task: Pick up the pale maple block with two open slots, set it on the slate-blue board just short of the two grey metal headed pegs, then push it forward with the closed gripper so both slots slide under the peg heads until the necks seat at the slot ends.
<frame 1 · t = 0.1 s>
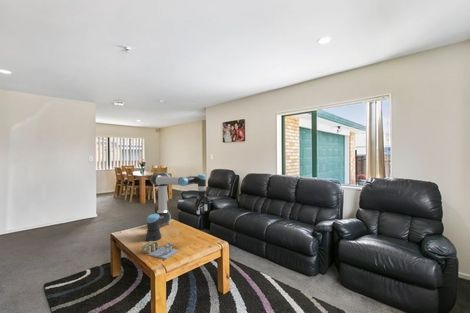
hand: (202, 212, 220), 28 cm above the table, fingers open, 13 cm apart
boss board: (164, 253, 194), on the table
book: (162, 226, 269), on the table
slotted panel: (150, 250, 200), on the table
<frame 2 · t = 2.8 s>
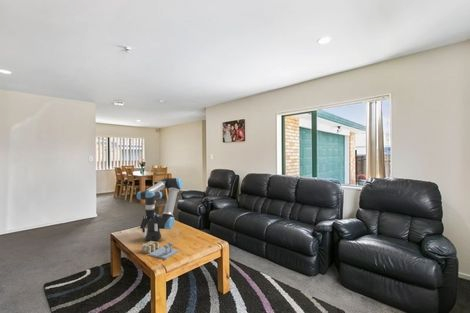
hand: (150, 233, 200), 15 cm above the table, fingers open, 13 cm apart
nothing on the table moved.
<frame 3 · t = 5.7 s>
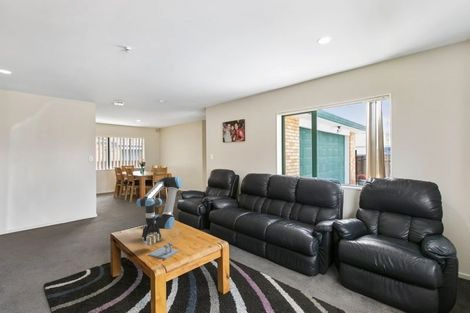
hand: (151, 241, 201), 7 cm above the table, fingers closed on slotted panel, 10 cm apart
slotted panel: (151, 242, 201), point 7 cm above the table, touching gripper
everything else where it was.
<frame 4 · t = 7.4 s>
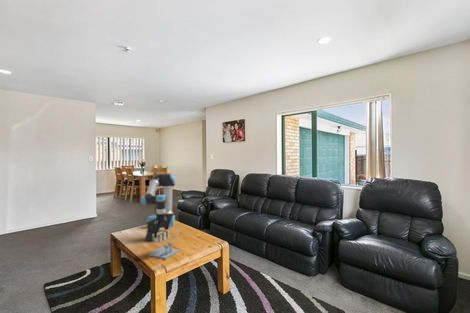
hand: (161, 239, 195), 12 cm above the table, fingers closed on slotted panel, 10 cm apart
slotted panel: (161, 239, 195), point 12 cm above the table, touching gripper
everything else where it was.
when the fingers open (2 cm above the table, at t = 9.5 s): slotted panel stays where it is, resting on boss board.
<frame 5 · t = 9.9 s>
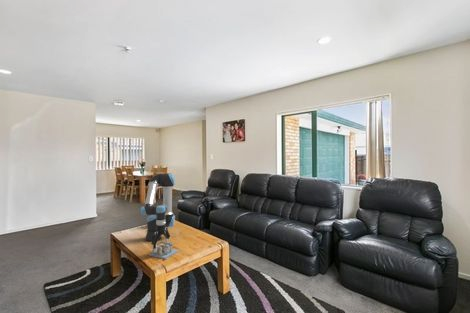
hand: (161, 249, 195), 3 cm above the table, fingers open, 13 cm apart
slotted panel: (161, 251, 195), point 1 cm above the table, touching boss board
everything else where it was.
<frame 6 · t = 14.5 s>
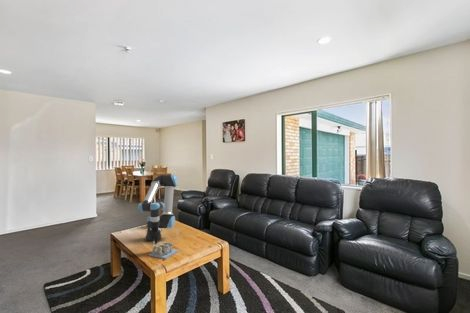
hand: (155, 248, 197), 3 cm above the table, fingers closed
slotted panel: (161, 251, 195), point 1 cm above the table, touching gripper
everything else where it was.
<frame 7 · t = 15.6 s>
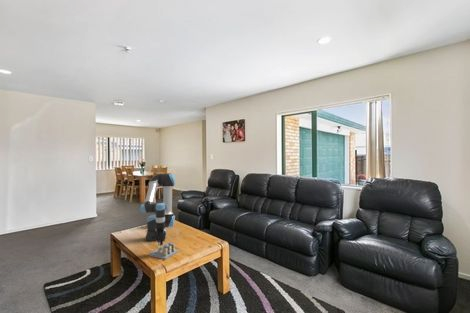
hand: (160, 249, 195), 3 cm above the table, fingers closed
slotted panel: (166, 252, 192), point 1 cm above the table, touching boss board, gripper
everything else where it was.
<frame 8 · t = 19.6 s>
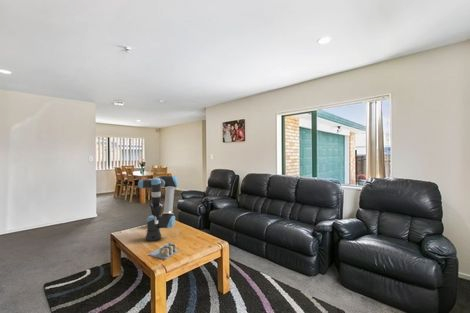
hand: (156, 223, 197), 24 cm above the table, fingers closed
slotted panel: (168, 253, 192), point 1 cm above the table, touching boss board
everything else where it was.
at the end: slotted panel 0.2 cm from the target spot, point 1.2 cm above the table; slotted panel tilted 0°; the gripper is holding nothing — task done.
